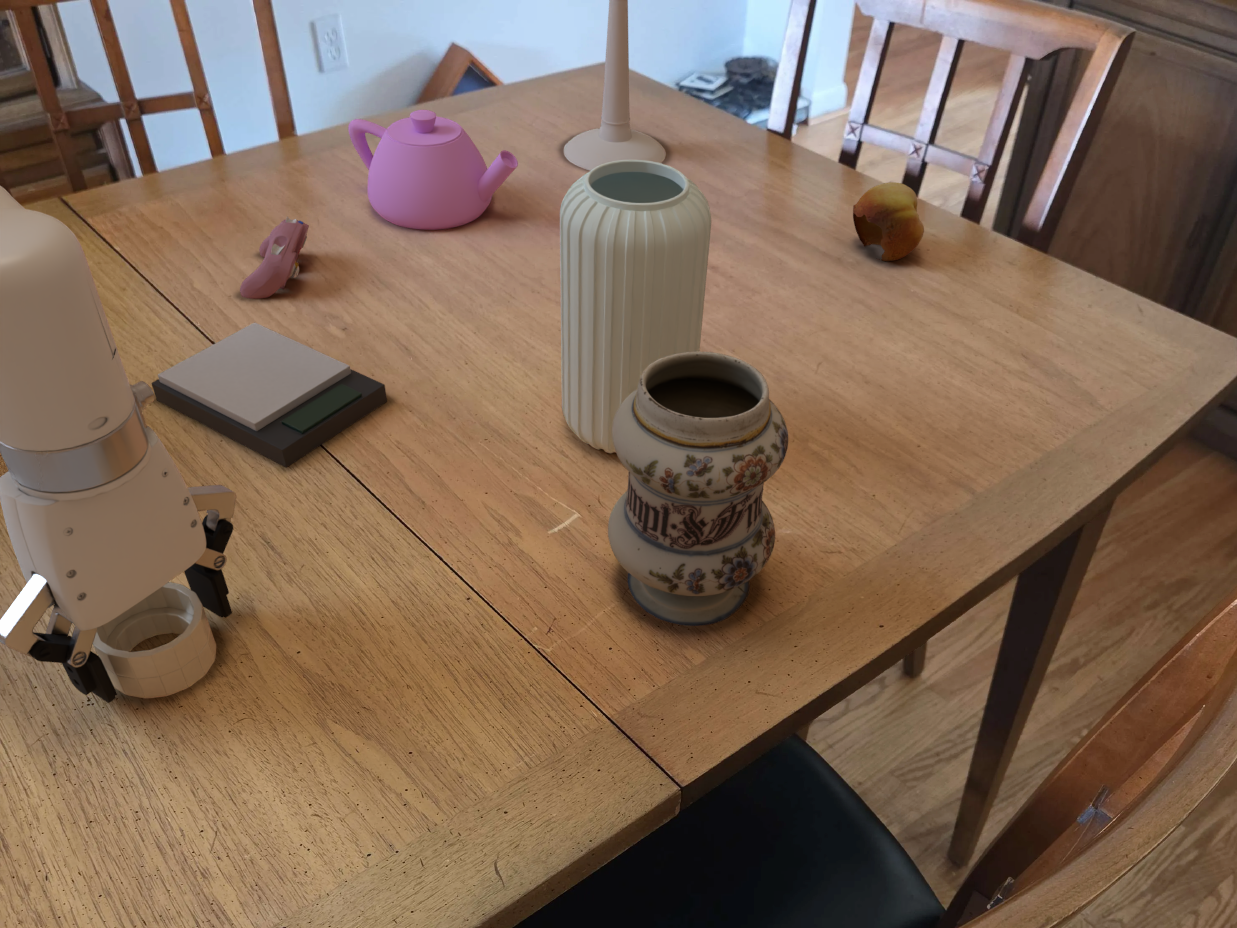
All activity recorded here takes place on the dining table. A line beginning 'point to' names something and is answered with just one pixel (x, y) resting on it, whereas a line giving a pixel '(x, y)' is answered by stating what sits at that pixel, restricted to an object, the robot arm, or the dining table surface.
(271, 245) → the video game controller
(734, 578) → the apothecary jar
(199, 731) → the dining table surface
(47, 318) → the robot arm
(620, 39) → the candlestick
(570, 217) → the vase
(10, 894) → the dining table surface
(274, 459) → the scale
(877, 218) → the fruit
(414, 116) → the teapot
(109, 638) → the ring
